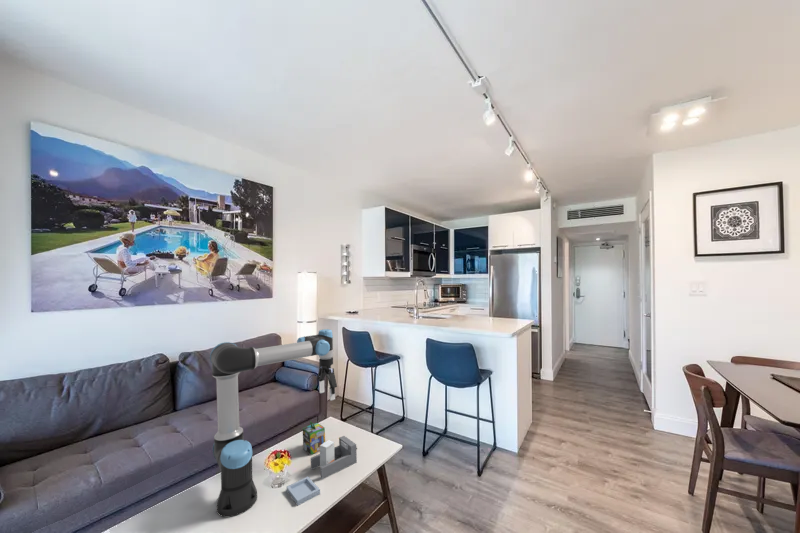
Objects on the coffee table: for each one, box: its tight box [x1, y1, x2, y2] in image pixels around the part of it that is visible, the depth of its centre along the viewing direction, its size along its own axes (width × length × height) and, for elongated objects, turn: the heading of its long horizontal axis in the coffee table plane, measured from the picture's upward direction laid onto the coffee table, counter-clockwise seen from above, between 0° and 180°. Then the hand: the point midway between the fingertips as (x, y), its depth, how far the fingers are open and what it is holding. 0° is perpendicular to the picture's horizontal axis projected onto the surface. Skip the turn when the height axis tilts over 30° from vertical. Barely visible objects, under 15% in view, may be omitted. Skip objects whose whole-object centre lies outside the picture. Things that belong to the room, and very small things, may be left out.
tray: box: [286, 476, 321, 506], centre depth 136 cm, size 10×12×2 cm
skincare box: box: [319, 439, 336, 468], centre depth 152 cm, size 6×4×12 cm
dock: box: [310, 435, 358, 480], centre depth 154 cm, size 19×12×9 cm, turn 131°
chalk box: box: [302, 420, 326, 456], centre depth 170 cm, size 9×9×15 cm
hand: (327, 396), depth 173 cm, fingers open, 13 cm apart
